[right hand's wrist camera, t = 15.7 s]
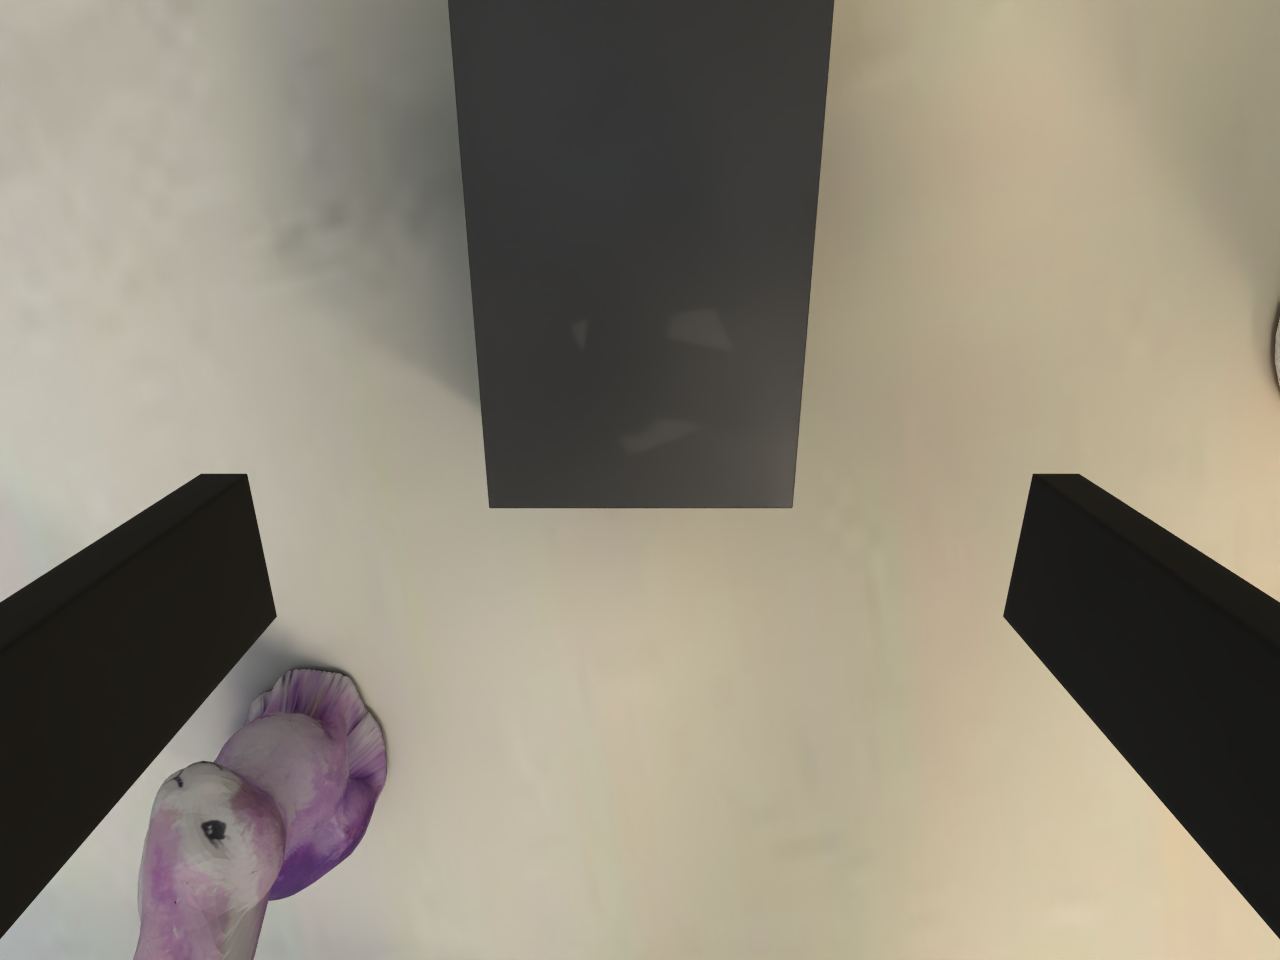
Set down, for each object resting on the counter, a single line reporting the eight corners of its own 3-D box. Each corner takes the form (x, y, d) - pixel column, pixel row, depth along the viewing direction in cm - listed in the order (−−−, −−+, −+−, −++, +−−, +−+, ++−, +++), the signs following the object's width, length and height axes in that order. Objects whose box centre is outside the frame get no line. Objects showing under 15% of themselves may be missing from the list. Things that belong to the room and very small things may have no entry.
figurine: (302, 624, 37) (97, 886, 23) (439, 754, 40) (331, 1055, 26) (177, 715, 39) (-81, 1006, 25) (317, 831, 42) (155, 1150, 28)
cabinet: (496, 29, 28) (444, -30, 20) (785, 29, 28) (837, -30, 20) (521, 440, 34) (488, 508, 26) (759, 440, 34) (792, 508, 26)
